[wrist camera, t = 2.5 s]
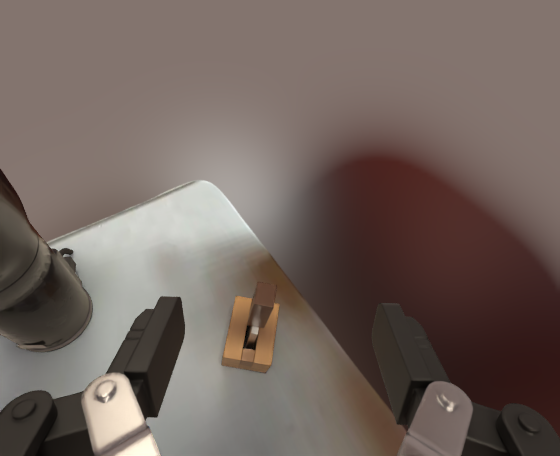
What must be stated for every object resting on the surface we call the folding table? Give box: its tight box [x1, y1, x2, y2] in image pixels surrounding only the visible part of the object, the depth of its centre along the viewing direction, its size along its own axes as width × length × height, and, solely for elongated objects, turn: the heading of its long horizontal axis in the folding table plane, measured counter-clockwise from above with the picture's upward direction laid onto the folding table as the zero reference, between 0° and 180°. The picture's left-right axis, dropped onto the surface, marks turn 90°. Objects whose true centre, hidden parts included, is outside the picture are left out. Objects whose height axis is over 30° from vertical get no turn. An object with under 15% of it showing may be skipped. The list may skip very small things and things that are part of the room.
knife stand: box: [222, 296, 279, 373], centre depth 45 cm, size 8×6×5 cm
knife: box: [245, 282, 277, 349], centre depth 40 cm, size 4×2×17 cm, turn 173°
